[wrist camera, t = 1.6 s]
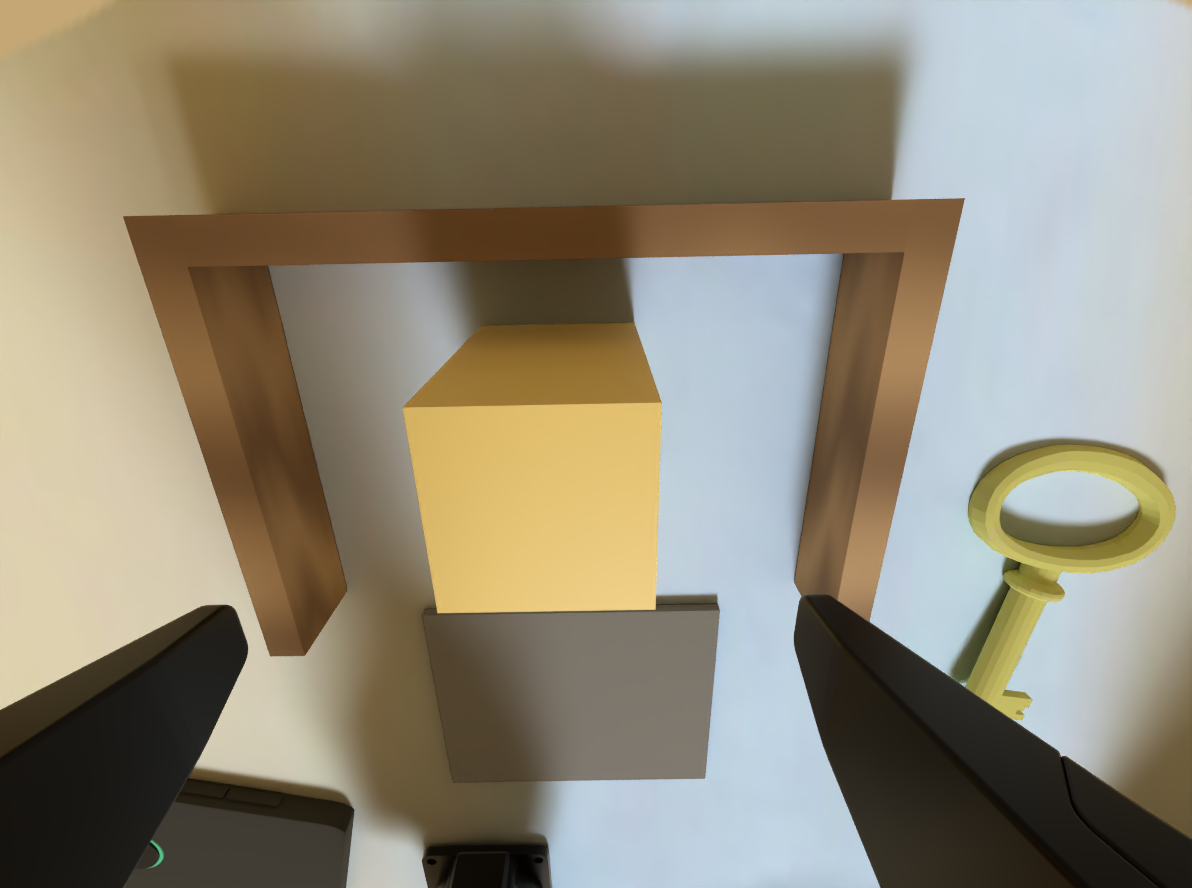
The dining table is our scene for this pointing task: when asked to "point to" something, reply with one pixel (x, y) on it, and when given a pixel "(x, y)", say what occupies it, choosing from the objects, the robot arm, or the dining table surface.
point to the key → (1053, 553)
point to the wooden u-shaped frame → (252, 241)
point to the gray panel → (575, 692)
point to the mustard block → (540, 470)
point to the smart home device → (247, 841)
